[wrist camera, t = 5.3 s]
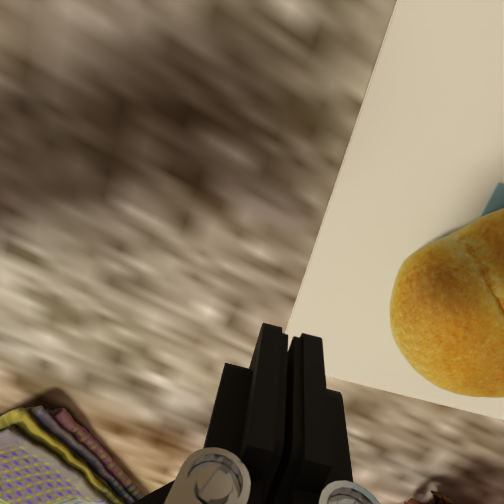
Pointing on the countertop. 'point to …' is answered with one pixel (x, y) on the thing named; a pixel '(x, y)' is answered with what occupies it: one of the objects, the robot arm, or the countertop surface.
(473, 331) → the bread roll
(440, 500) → the dragon fruit
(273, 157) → the countertop surface
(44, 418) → the dish towel
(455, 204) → the placemat
